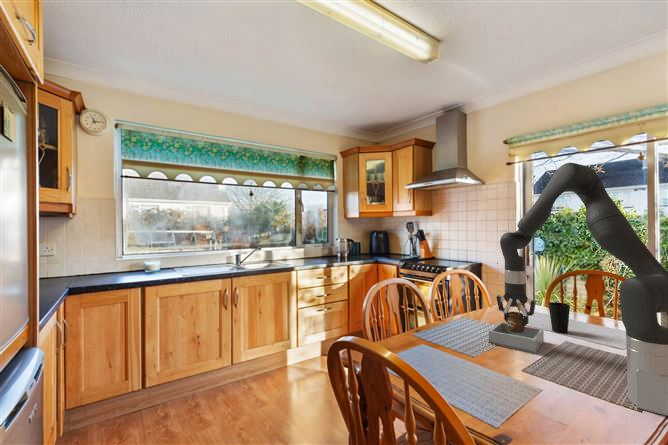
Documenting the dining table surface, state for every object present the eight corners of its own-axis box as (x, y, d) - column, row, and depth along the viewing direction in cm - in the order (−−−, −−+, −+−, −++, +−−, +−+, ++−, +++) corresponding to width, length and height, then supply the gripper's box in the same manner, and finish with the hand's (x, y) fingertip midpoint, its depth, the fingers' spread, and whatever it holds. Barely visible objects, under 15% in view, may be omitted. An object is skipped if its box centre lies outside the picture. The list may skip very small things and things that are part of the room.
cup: (553, 333, 135) (552, 305, 135) (546, 328, 142) (545, 301, 142) (574, 335, 132) (573, 306, 133) (566, 329, 140) (565, 302, 140)
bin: (535, 354, 114) (535, 340, 114) (488, 343, 125) (488, 331, 125) (543, 341, 125) (543, 329, 125) (500, 333, 136) (500, 321, 136)
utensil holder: (518, 328, 128) (517, 299, 128) (528, 333, 122) (527, 302, 122) (504, 328, 128) (503, 299, 128) (513, 333, 122) (513, 303, 122)
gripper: (493, 281, 127) (494, 322, 127) (533, 284, 118) (535, 329, 117) (498, 278, 133) (499, 318, 133) (537, 282, 123) (539, 324, 123)
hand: (516, 323), depth 125 cm, fingers closed on utensil holder, 5 cm apart
